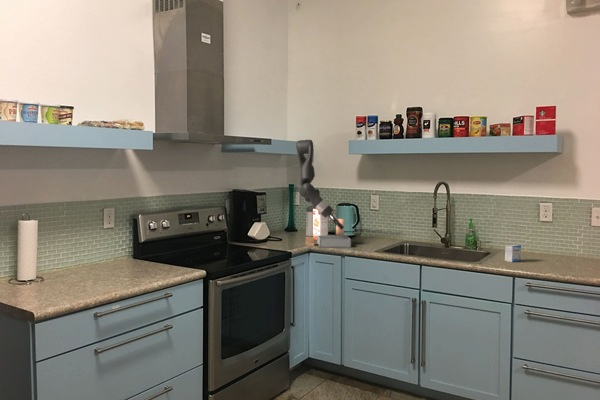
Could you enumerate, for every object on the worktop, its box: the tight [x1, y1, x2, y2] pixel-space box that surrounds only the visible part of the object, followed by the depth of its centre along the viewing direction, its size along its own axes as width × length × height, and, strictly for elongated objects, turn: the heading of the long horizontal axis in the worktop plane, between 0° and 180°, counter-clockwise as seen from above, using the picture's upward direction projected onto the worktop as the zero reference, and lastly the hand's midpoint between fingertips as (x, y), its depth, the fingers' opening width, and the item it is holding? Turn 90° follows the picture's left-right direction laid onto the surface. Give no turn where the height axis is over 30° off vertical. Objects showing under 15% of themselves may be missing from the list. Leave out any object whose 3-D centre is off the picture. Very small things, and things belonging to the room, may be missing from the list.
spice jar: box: [335, 218, 345, 235], centre depth 318 cm, size 5×5×10 cm
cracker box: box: [312, 209, 329, 241], centre depth 337 cm, size 14×6×21 cm, turn 19°
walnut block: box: [305, 236, 315, 247], centre depth 318 cm, size 5×5×5 cm
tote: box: [316, 234, 352, 249], centre depth 319 cm, size 17×19×5 cm
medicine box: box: [504, 243, 522, 263], centre depth 272 cm, size 8×4×9 cm, turn 122°
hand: (342, 227), depth 318 cm, fingers closed on spice jar, 5 cm apart
